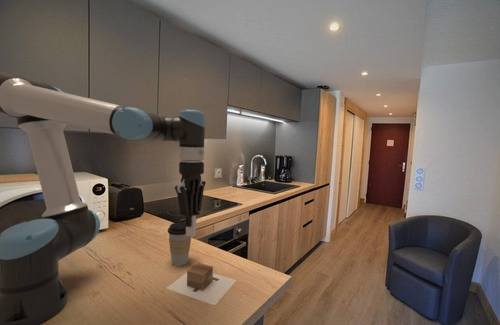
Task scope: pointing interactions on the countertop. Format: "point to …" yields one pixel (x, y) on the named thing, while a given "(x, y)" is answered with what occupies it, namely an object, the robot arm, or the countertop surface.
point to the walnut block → (200, 276)
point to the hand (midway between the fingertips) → (190, 235)
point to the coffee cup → (179, 243)
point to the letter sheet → (209, 293)
